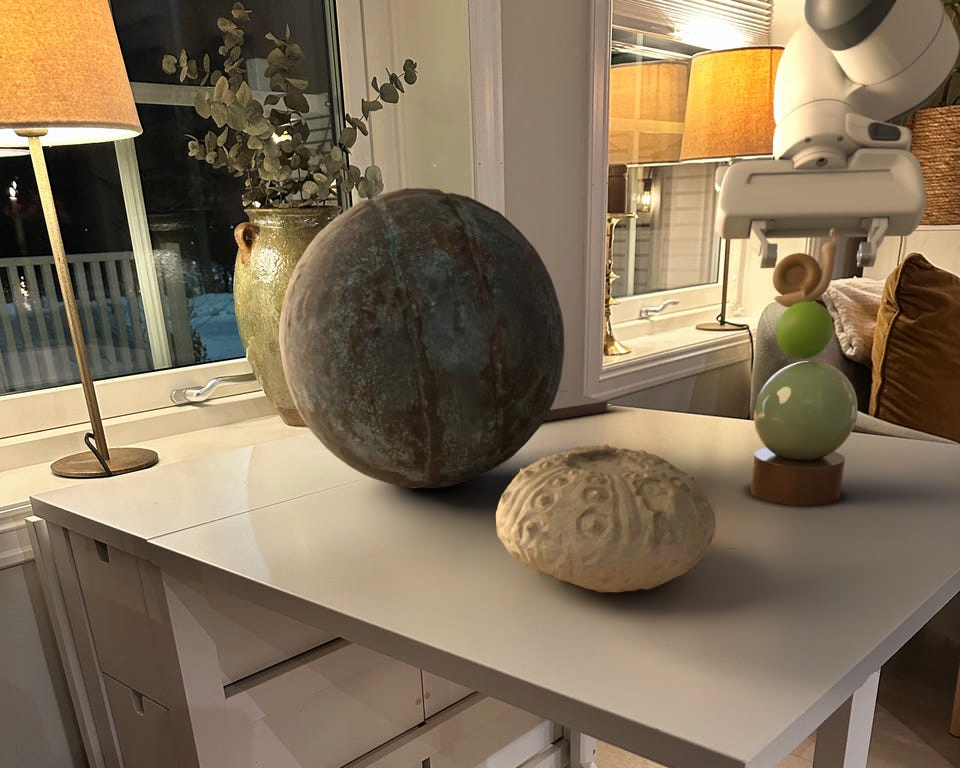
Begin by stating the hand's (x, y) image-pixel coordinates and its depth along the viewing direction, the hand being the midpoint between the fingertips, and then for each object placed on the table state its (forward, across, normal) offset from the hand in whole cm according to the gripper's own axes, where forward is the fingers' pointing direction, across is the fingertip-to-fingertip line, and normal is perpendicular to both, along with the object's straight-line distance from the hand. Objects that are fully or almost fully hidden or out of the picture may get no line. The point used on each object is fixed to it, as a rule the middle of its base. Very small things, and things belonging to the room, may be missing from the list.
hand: (817, 263), depth 92 cm
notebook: (-7, -35, +39) cm, 53 cm away
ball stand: (+19, 0, +12) cm, 23 cm away
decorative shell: (+38, -19, -6) cm, 43 cm away
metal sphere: (+20, -40, +12) cm, 46 cm away
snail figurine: (+10, 0, +2) cm, 10 cm away
